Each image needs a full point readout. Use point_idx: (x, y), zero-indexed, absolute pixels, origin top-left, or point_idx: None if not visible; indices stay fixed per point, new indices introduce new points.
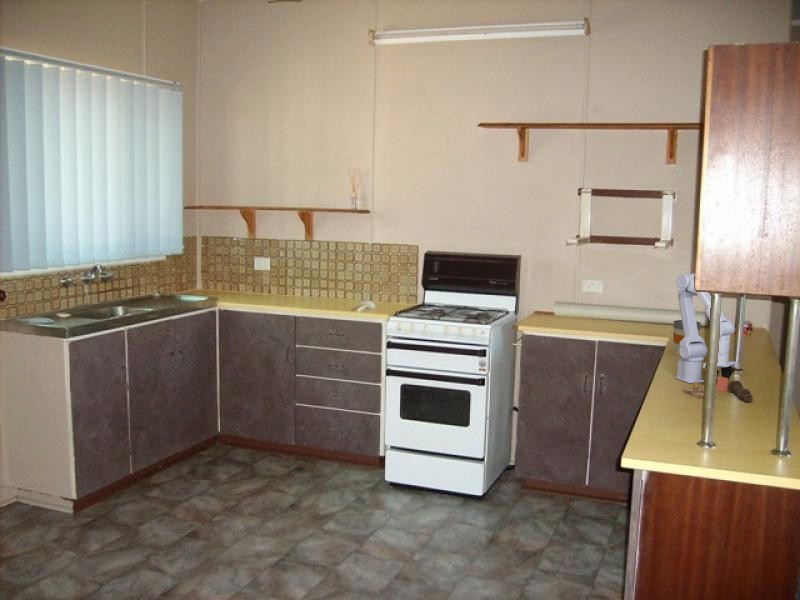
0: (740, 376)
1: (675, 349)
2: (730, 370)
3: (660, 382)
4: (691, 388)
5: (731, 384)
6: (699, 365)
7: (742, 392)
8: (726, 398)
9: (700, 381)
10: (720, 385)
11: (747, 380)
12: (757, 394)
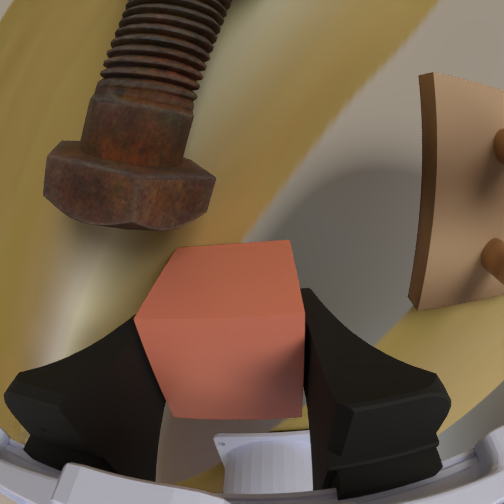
0: None
1: None
2: (62, 392)
3: (438, 429)
4: (489, 287)
5: (170, 171)
6: None
7: None
8: (361, 14)
9: (251, 438)
10: (259, 269)
11: (9, 385)
12: (12, 123)
